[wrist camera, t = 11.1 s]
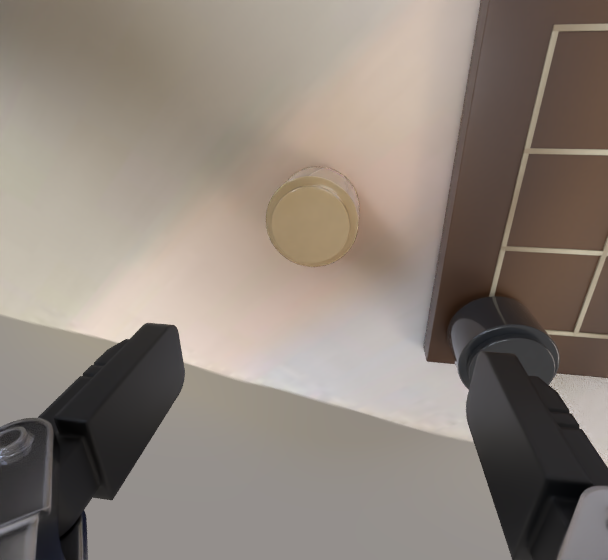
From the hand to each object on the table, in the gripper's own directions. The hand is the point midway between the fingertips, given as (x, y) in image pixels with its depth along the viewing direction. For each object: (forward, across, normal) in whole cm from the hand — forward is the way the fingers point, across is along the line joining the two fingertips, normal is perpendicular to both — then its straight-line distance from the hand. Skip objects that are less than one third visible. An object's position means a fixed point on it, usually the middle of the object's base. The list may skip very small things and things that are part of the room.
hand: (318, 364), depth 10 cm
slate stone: (+11, -9, +5) cm, 15 cm away
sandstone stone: (+13, +1, -1) cm, 13 cm away
